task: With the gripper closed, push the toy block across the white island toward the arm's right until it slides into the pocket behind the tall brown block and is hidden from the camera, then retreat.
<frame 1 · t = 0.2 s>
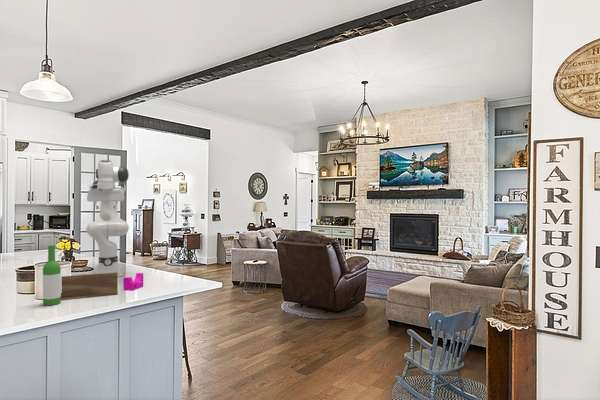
hand: (106, 208, 233), 48 cm above the table, fingers open, 8 cm apart
toy block: (135, 288, 229), on the table
brown block: (90, 296, 209), on the table
wine bottle: (52, 304, 194), on the table
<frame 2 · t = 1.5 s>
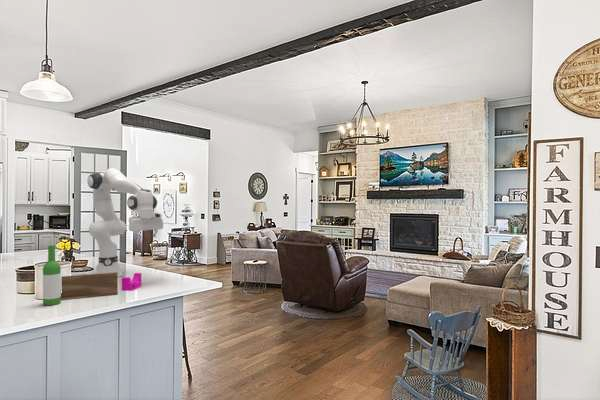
hand: (146, 237, 234), 30 cm above the table, fingers open, 8 cm apart
toy block: (133, 288, 229), on the table
everything else where it was.
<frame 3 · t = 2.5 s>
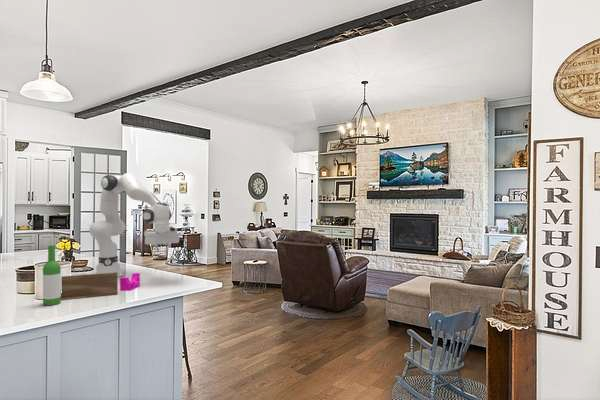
hand: (162, 250, 236), 21 cm above the table, fingers open, 4 cm apart
nothing on the table moved.
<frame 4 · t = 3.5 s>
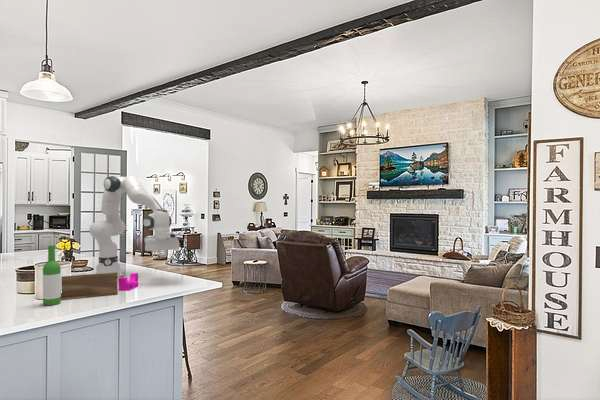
hand: (162, 257, 236), 17 cm above the table, fingers closed
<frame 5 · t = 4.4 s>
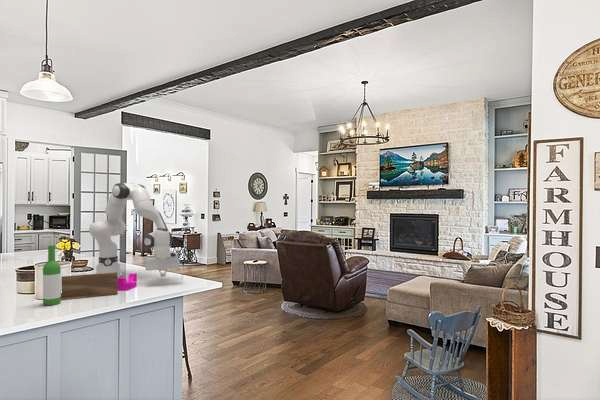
hand: (163, 276, 236), 5 cm above the table, fingers closed
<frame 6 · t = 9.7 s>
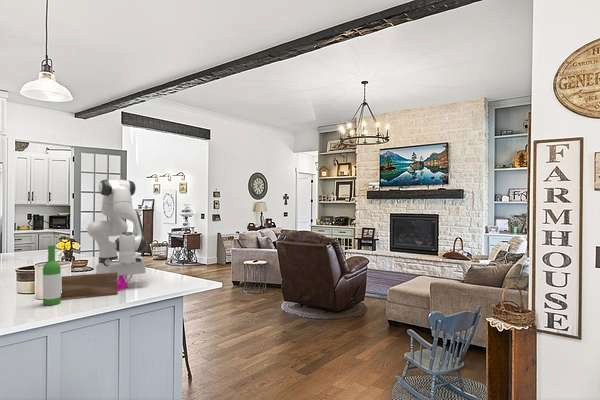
hand: (127, 282, 228), 4 cm above the table, fingers closed
toy block: (119, 288, 228), on the table, touching gripper
everything else where it was.
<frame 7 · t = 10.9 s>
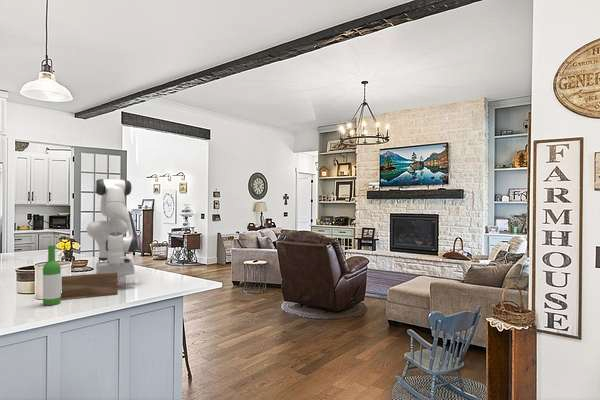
hand: (116, 283, 225), 4 cm above the table, fingers closed
toy block: (110, 289, 227), on the table
everything else where it was.
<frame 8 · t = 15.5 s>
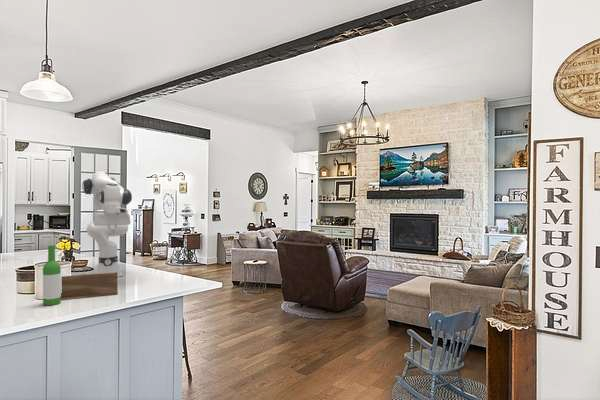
hand: (112, 232, 231), 33 cm above the table, fingers closed
toy block: (100, 289, 225), on the table
everything else where it was.
at the end: toy block inside the target area (7.0 cm from its centre), on the table; toy block tilted 0°; toy block moved 20.1 cm from its start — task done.
